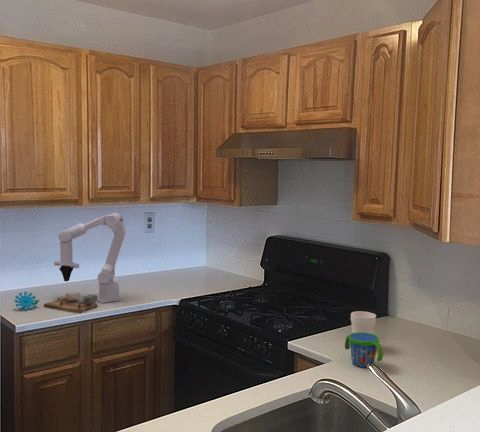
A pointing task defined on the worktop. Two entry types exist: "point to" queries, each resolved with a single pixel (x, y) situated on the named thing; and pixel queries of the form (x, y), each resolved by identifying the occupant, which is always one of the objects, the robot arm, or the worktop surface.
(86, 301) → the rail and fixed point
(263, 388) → the worktop surface
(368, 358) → the snack cup
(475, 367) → the worktop surface
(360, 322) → the foam cup
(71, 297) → the slider
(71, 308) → the hole board
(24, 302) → the gear
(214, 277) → the worktop surface
